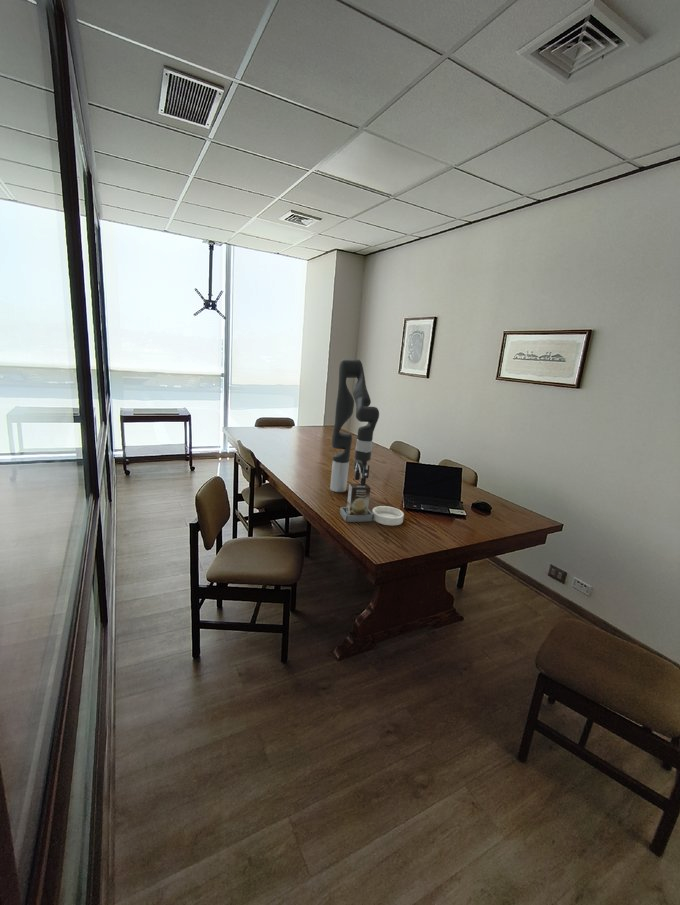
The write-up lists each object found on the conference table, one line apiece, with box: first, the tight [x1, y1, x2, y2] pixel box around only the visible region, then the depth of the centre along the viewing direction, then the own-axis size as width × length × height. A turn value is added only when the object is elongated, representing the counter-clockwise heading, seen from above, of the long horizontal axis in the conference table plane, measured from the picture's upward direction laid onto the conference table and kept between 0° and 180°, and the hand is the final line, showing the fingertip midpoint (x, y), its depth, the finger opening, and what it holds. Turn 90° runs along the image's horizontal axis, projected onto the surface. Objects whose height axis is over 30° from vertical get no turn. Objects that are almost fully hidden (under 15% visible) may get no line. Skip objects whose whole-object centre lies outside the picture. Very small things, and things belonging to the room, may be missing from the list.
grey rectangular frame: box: [339, 506, 374, 523], centre depth 193 cm, size 11×14×3 cm
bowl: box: [371, 505, 405, 526], centre depth 194 cm, size 15×15×4 cm
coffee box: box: [346, 482, 371, 515], centre depth 191 cm, size 9×6×16 cm
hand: (359, 482), depth 189 cm, fingers open, 8 cm apart
